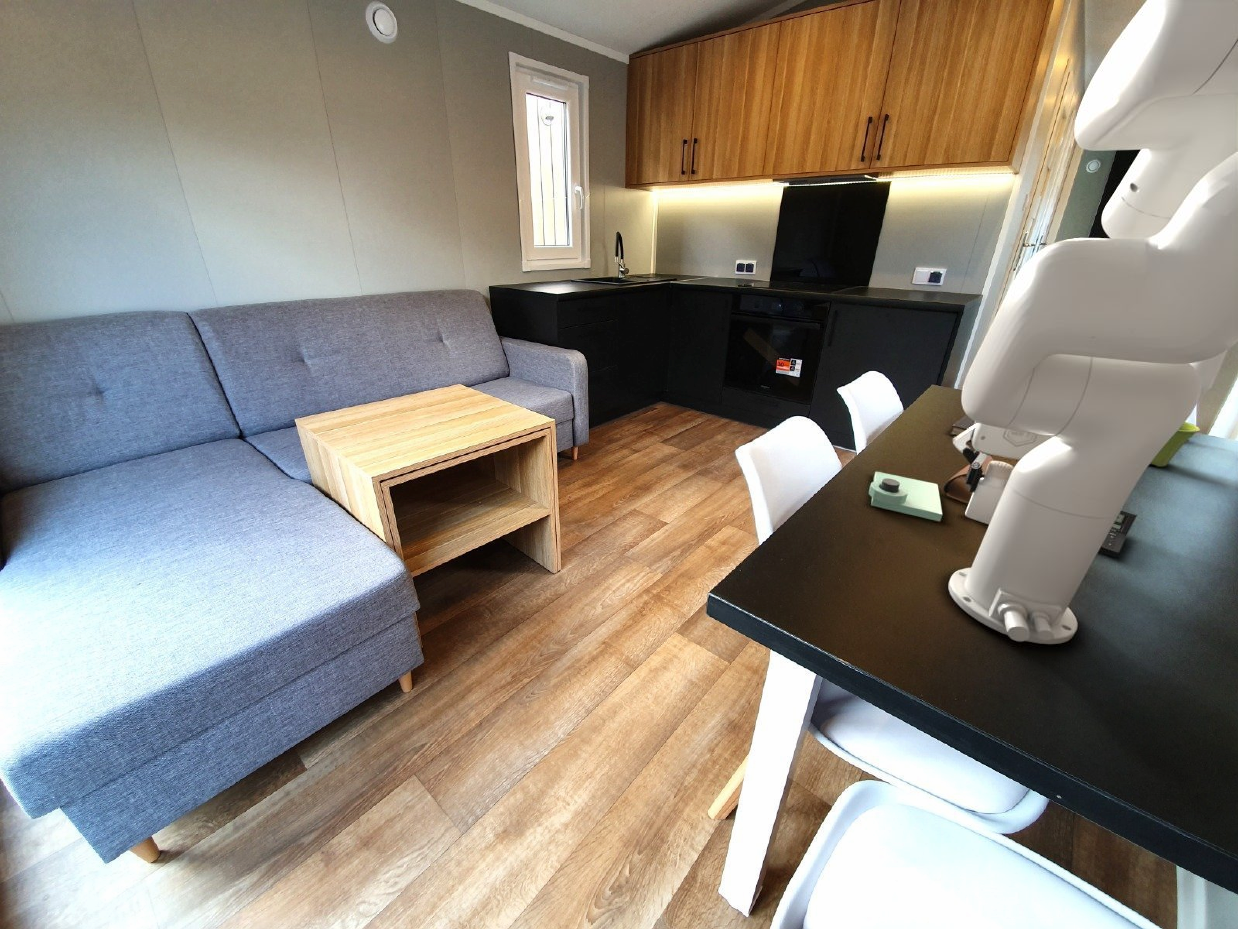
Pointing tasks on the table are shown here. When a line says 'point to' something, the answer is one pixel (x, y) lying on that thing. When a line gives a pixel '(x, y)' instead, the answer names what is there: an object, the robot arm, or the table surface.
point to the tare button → (890, 485)
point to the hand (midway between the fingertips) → (990, 491)
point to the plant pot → (1174, 444)
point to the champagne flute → (1209, 370)
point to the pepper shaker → (989, 492)
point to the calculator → (1117, 534)
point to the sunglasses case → (962, 484)
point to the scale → (907, 497)
